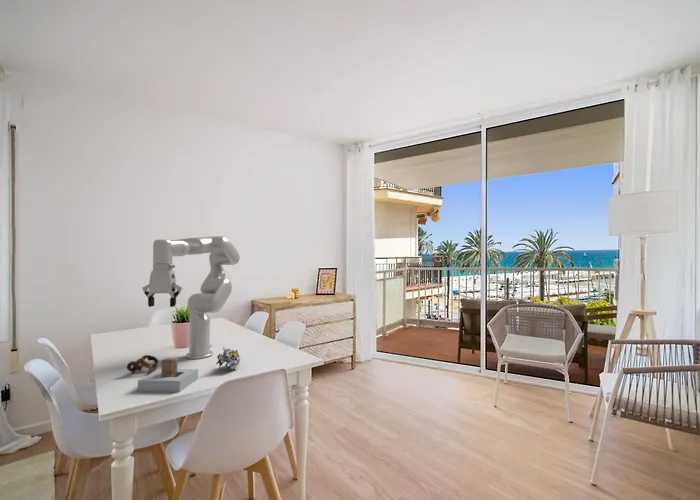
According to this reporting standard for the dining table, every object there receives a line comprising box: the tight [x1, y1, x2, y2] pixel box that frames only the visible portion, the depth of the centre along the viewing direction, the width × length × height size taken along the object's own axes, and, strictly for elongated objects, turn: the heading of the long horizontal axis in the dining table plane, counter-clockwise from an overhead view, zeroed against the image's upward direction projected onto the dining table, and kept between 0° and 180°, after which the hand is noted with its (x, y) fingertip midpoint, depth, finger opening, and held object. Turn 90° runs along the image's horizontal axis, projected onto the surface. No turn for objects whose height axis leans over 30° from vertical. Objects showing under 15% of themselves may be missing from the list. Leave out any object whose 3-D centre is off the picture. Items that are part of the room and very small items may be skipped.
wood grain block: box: [161, 357, 178, 377], centre depth 136 cm, size 4×4×10 cm
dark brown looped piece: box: [126, 354, 159, 375], centre depth 150 cm, size 12×10×8 cm
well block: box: [137, 368, 199, 393], centre depth 136 cm, size 14×16×4 cm
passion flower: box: [215, 346, 241, 371], centre depth 156 cm, size 11×11×12 cm
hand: (162, 306), depth 154 cm, fingers open, 9 cm apart
